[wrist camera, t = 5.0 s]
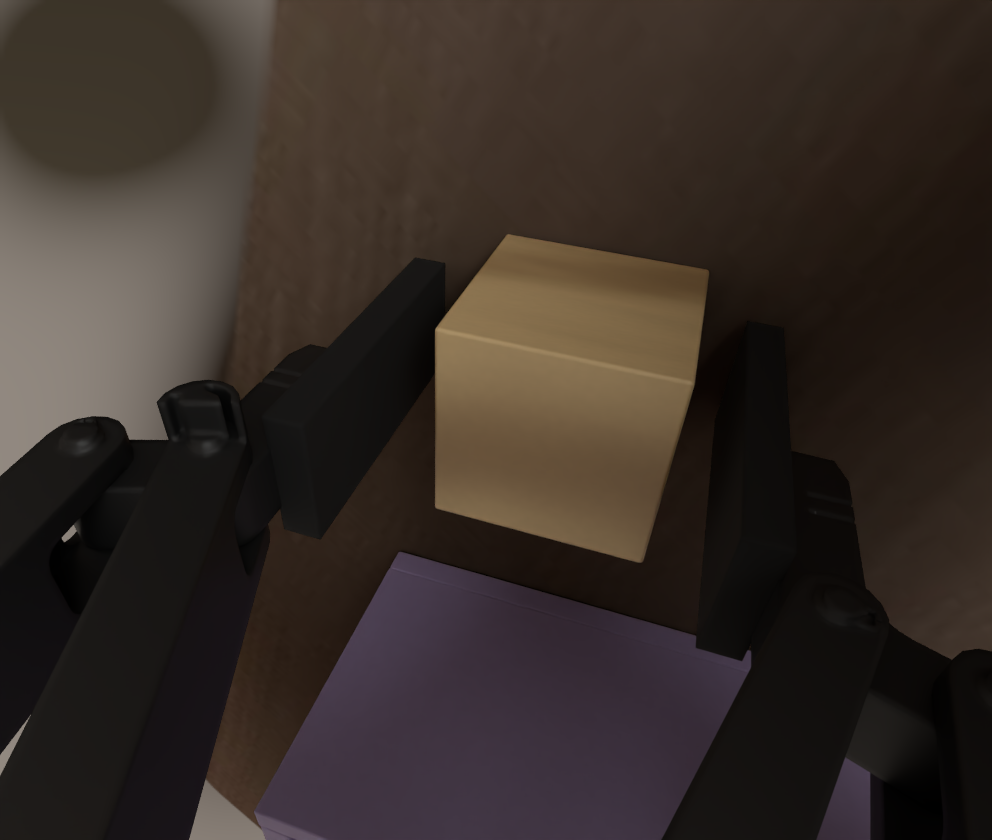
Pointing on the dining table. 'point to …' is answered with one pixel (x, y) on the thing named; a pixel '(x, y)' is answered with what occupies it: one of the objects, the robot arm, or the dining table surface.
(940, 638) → the dining table surface
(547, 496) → the beech block
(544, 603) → the box
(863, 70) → the dining table surface
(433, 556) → the dining table surface
